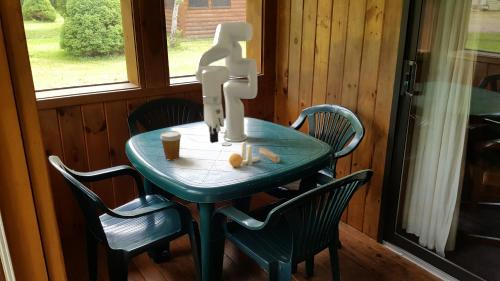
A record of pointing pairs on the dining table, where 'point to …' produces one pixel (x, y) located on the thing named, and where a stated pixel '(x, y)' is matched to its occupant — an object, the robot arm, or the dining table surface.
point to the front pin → (252, 160)
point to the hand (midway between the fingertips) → (214, 141)
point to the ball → (235, 160)
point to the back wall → (269, 154)
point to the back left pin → (244, 150)
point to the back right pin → (249, 155)
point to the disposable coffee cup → (171, 144)
